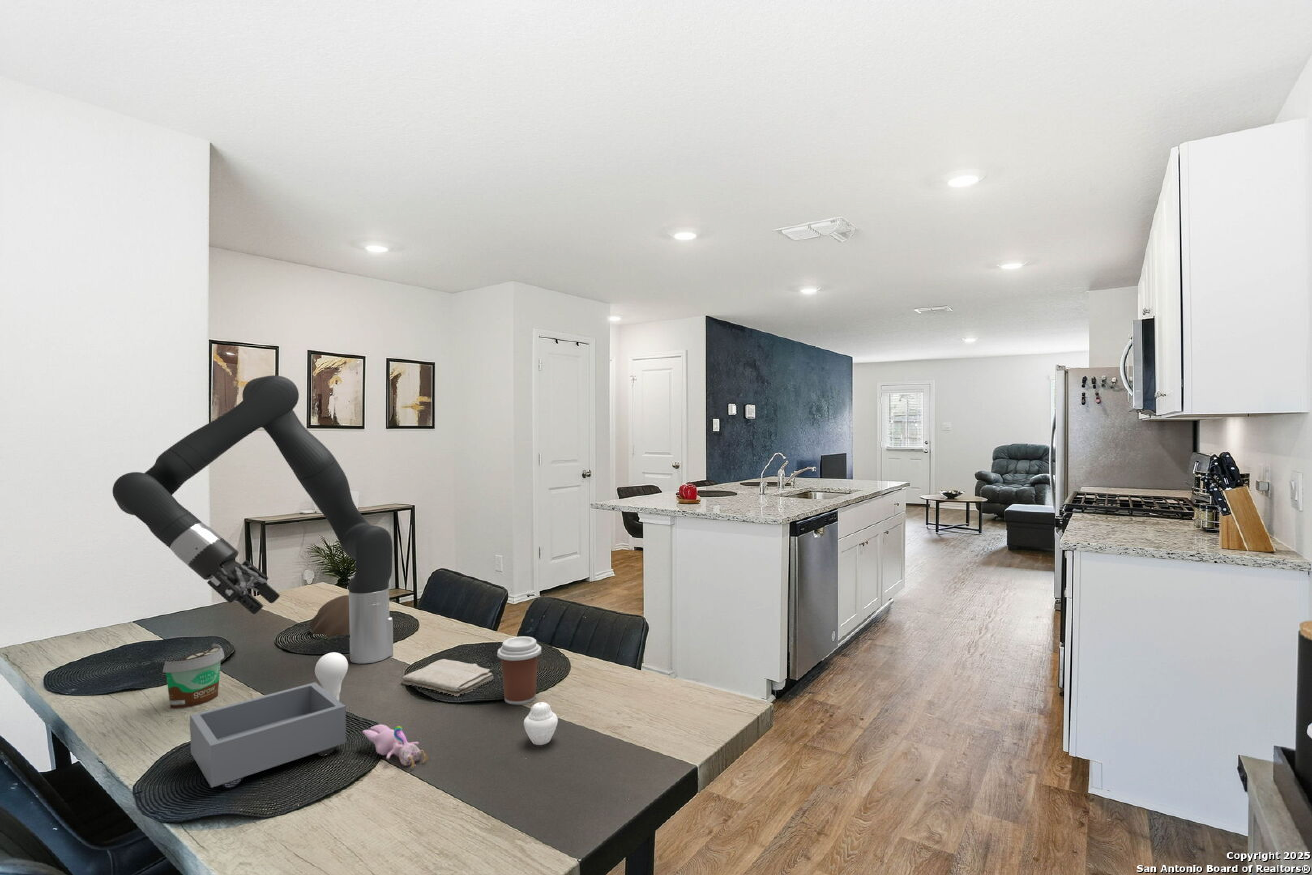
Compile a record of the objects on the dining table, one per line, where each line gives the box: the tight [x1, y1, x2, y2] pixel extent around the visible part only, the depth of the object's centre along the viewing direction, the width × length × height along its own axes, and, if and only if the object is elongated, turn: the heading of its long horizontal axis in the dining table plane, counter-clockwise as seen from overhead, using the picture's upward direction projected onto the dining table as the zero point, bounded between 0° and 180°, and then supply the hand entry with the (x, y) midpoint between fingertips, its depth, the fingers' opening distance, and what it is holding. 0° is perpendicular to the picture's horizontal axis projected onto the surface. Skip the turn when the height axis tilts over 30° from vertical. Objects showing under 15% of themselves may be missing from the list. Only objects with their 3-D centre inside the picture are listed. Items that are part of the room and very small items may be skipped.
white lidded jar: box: [523, 701, 559, 746], centre depth 117 cm, size 6×6×7 cm
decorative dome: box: [308, 594, 350, 637], centre depth 187 cm, size 19×20×10 cm
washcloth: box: [400, 658, 495, 698], centre depth 146 cm, size 12×18×3 cm, turn 64°
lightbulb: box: [314, 652, 349, 701], centre depth 134 cm, size 6×6×11 cm
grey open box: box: [189, 681, 347, 789], centre depth 113 cm, size 20×16×8 cm
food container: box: [162, 643, 225, 709], centre depth 138 cm, size 12×6×10 cm, turn 168°
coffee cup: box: [496, 635, 542, 706], centre depth 136 cm, size 9×9×12 cm
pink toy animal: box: [362, 724, 428, 770], centre depth 113 cm, size 6×6×15 cm
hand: (268, 605), depth 131 cm, fingers open, 8 cm apart
